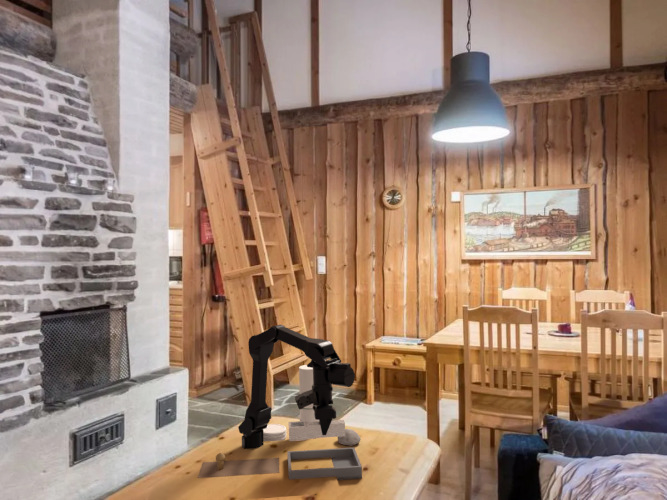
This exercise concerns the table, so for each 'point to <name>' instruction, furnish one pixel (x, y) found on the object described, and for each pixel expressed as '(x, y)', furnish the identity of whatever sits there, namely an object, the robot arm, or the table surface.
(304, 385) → the cylindrical container
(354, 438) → the pebble
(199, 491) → the table surface
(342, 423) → the square nut with handle
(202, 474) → the stud board
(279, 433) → the white round stack
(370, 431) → the table surface
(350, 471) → the tray
